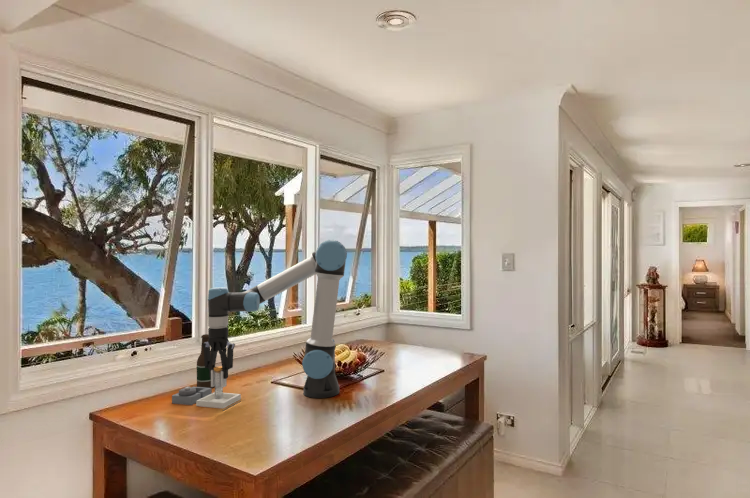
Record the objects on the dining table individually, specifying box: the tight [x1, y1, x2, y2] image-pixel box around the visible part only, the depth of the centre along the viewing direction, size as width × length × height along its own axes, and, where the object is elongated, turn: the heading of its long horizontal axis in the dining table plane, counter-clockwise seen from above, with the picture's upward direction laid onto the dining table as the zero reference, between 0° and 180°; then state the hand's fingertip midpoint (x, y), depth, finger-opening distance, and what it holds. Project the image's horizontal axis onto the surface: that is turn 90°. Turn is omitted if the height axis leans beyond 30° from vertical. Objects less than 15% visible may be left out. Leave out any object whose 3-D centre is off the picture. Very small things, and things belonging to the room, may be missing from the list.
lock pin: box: [214, 365, 224, 399], centre depth 191 cm, size 4×4×12 cm
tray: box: [195, 391, 242, 412], centre depth 191 cm, size 12×12×3 cm
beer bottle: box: [196, 333, 215, 389], centre depth 213 cm, size 8×8×24 cm
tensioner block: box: [171, 386, 213, 406], centre depth 196 cm, size 13×9×7 cm
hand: (218, 386), depth 191 cm, fingers closed on lock pin, 4 cm apart
